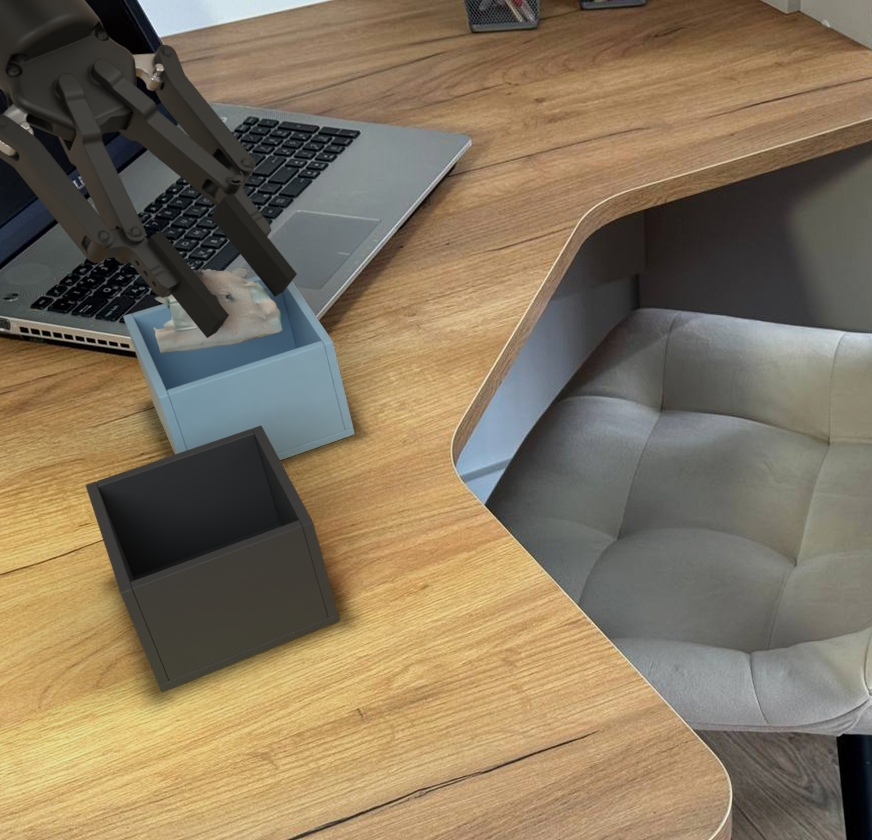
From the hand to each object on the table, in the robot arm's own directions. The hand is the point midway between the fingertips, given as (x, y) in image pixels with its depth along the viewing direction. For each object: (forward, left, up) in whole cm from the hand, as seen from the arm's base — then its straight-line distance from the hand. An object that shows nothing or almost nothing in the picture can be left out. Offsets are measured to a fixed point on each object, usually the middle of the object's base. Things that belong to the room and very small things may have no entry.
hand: (252, 305), depth 83 cm
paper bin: (-2, +3, -11) cm, 11 cm away
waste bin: (-8, -14, -11) cm, 19 cm away
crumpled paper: (-2, +3, -4) cm, 5 cm away
